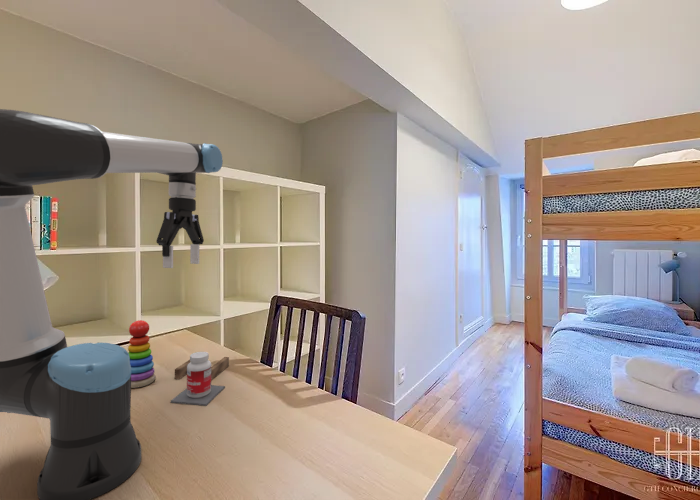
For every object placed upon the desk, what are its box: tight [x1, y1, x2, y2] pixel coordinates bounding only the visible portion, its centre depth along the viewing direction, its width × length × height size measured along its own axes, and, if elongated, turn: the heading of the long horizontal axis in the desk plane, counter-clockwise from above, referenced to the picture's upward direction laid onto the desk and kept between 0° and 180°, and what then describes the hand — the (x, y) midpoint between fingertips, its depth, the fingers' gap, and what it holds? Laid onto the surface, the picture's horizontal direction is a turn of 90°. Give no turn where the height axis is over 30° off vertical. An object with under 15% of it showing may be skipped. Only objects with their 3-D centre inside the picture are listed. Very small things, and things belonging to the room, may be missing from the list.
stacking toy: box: [127, 319, 157, 389], centre depth 96 cm, size 8×8×19 cm
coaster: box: [170, 384, 226, 407], centre depth 90 cm, size 10×10×1 cm
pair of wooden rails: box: [174, 356, 230, 381], centre depth 104 cm, size 12×12×3 cm
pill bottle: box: [186, 351, 212, 398], centre depth 90 cm, size 6×6×11 cm
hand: (182, 265), depth 101 cm, fingers open, 13 cm apart
